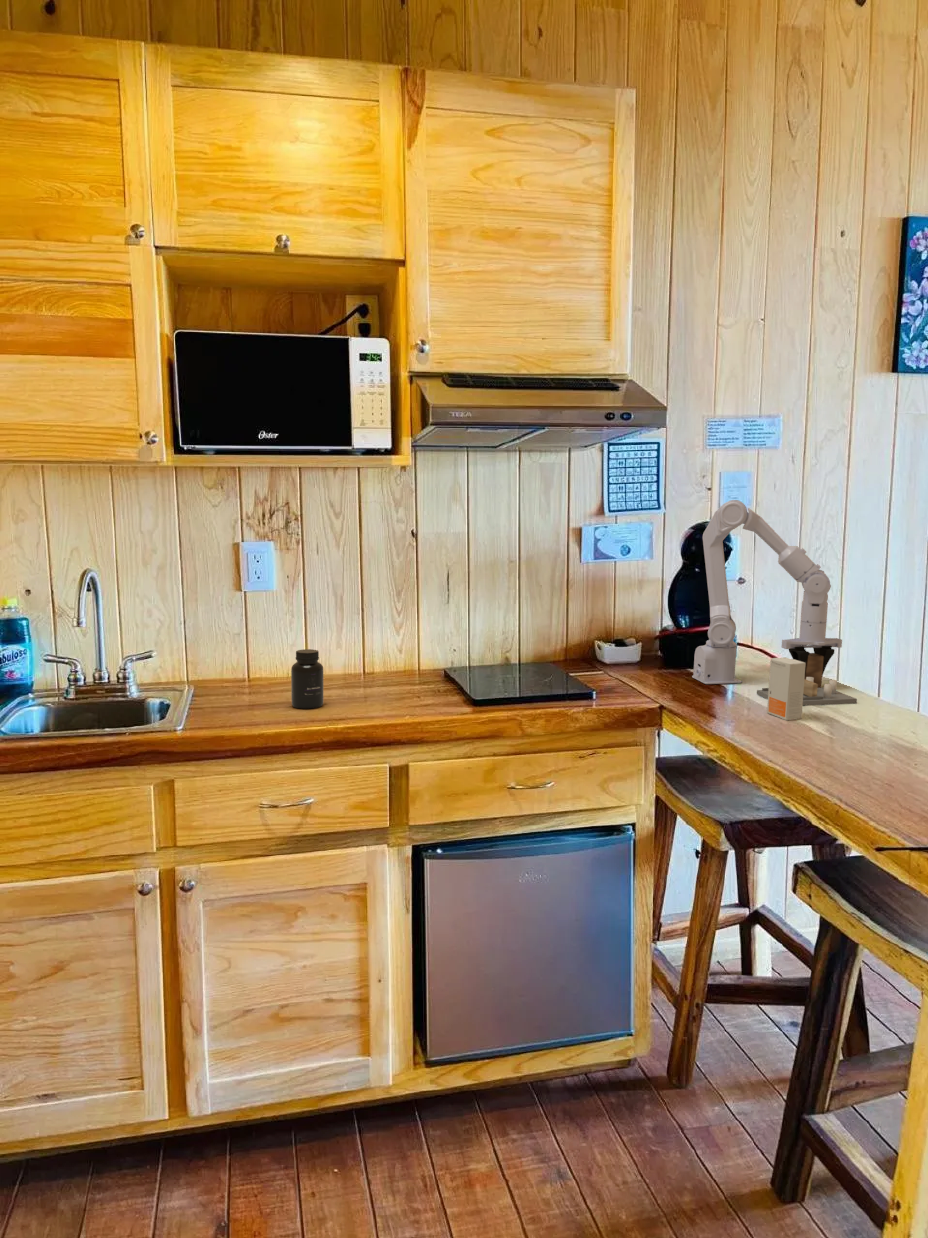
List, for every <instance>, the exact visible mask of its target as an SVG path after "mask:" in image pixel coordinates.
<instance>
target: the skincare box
mask: <svg viewBox="0 0 928 1238" xmlns="http://www.w3.org/2000/svg"><path fill="white" fill-rule="evenodd" d="M769 664H770V665H769V674H768V675H769V679H768V688H769V690H768V699H767V706H766V713H767V714H769V715H771V716H775V717H777V718H780V719H782V720H784V721H792V720H800V719H802V716H803V706H804V705H803V692H804V678H805V665H806V663H805V662H801V661H798V660H795V659H793V658H790V657H783V656H782V657H772V658H770V662H769Z"/></svg>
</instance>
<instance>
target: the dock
mask: <svg viewBox="0 0 928 1238" xmlns="http://www.w3.org/2000/svg"><path fill="white" fill-rule="evenodd" d="M806 680H808V681H811V682H814V678H813V677H806ZM837 684H838V680H836V679H829V682H828V683H824V685H823V687H821V688H817V696H816V697H809V696H807V695H805V694H803V706H820V705H821V706H823V705H824V706H825V705H845V704H846V705H847V704H848V705H849V704H857V702H858V699H857V698H856V697H853V696H851V695H848V694H845V693H843V692H840V691H838V690H837V688H838V687H837ZM768 690H769V687H762V688H761V689H757V690H756V695H757V696H759V697H762V698H764V699H766V700H768Z"/></svg>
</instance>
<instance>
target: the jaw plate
mask: <svg viewBox="0 0 928 1238" xmlns="http://www.w3.org/2000/svg"><path fill="white" fill-rule="evenodd" d="M817 688H818V684H816V683H814V682H811V681H808V680H806V679H804V692H803V694H805V695H807V696H809V697H816V696H817Z"/></svg>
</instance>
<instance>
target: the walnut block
mask: <svg viewBox="0 0 928 1238" xmlns="http://www.w3.org/2000/svg"><path fill="white" fill-rule="evenodd" d="M823 659H824V656H822V655H819V654H816V653H814V652H809V655H808V658H807V662H806V670H805V678H804V679H806V677H813V678H814V683H816V684H818V688H822V685H823V684H822V683H823V682H822V681H823V676H822V672H823Z"/></svg>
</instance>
